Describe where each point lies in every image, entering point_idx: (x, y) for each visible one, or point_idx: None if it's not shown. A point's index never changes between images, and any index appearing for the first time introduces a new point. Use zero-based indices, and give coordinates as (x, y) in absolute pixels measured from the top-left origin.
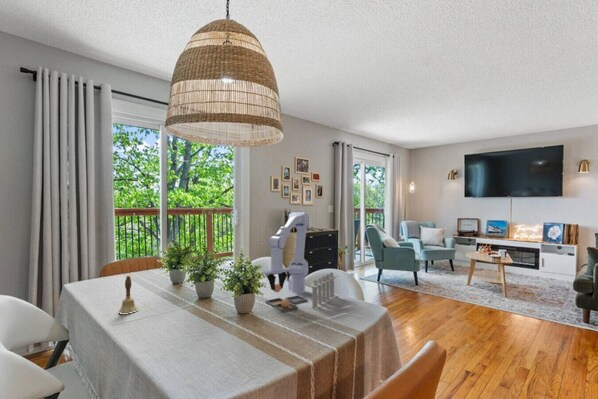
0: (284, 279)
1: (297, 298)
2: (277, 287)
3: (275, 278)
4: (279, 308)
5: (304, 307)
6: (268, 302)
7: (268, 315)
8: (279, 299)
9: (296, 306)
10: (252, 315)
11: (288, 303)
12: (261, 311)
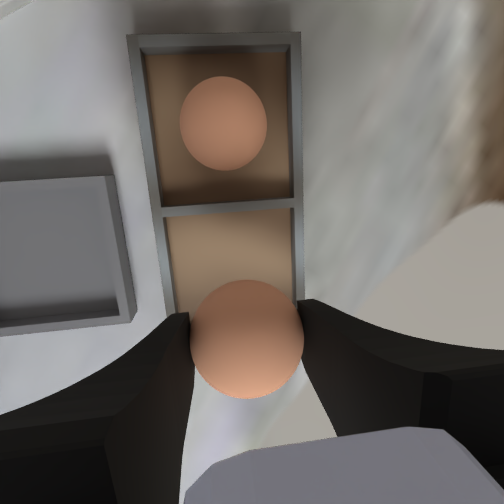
0: (105, 375)
1: (9, 300)
2: (269, 296)
3: (397, 362)
4: (300, 103)
5: (43, 69)
6: (304, 288)
7: (407, 79)
8: None
9: (137, 45)
10: (490, 150)
11: (212, 77)
12: (401, 190)
